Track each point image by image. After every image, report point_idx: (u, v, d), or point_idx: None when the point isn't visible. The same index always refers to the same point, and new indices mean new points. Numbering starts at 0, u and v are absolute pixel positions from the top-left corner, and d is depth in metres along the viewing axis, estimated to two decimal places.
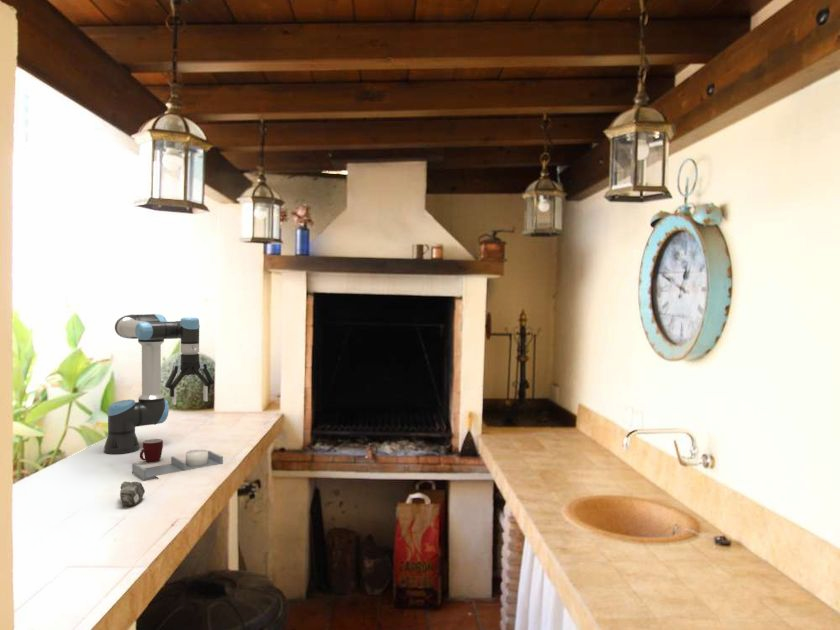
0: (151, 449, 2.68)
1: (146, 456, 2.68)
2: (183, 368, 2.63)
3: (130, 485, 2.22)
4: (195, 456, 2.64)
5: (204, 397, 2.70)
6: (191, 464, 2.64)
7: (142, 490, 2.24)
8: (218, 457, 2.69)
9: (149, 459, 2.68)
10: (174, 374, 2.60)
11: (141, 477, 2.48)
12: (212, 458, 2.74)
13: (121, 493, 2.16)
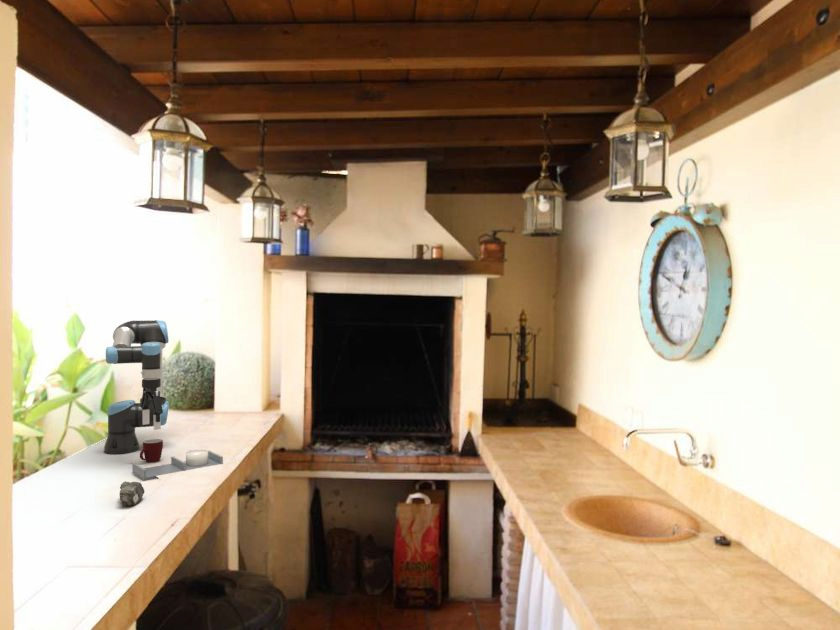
0: (151, 449, 2.68)
1: (146, 456, 2.68)
2: (146, 391, 2.71)
3: (130, 485, 2.22)
4: (195, 456, 2.64)
5: None
6: (191, 464, 2.64)
7: (142, 490, 2.24)
8: (218, 457, 2.69)
9: (149, 459, 2.68)
10: (142, 395, 2.74)
11: (141, 477, 2.48)
12: (212, 458, 2.74)
13: (120, 493, 2.16)
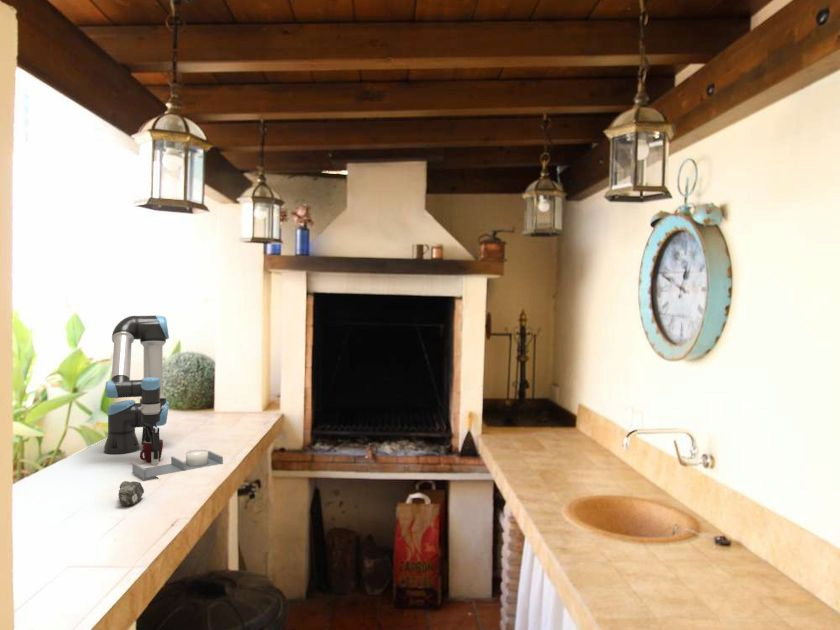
0: (151, 449, 2.68)
1: (146, 456, 2.68)
2: None
3: (129, 485, 2.22)
4: (195, 456, 2.64)
5: None
6: (191, 464, 2.64)
7: (141, 490, 2.24)
8: (218, 457, 2.69)
9: (149, 459, 2.68)
10: None
11: (141, 477, 2.48)
12: (212, 458, 2.74)
13: (119, 493, 2.16)
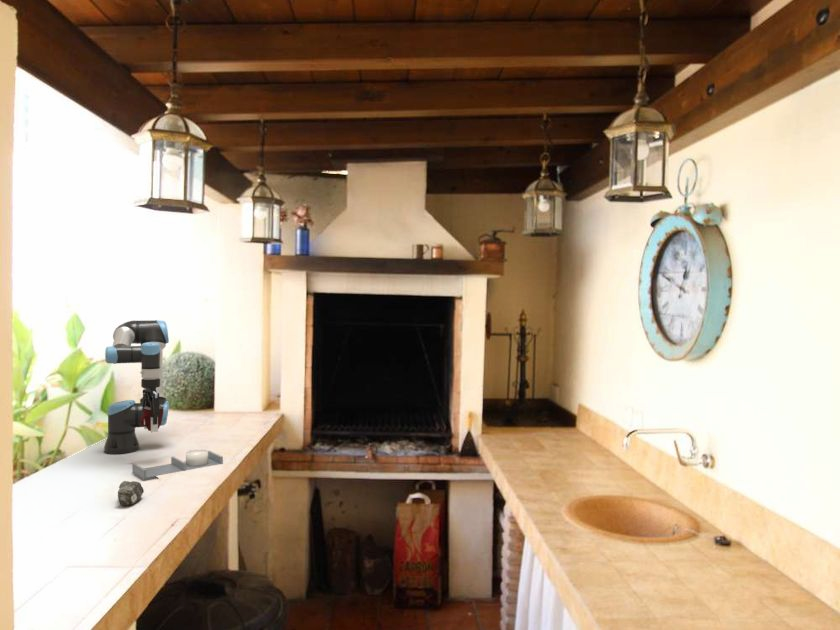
0: None
1: (146, 422, 2.68)
2: (145, 391, 2.71)
3: (129, 485, 2.23)
4: (195, 456, 2.64)
5: None
6: (191, 464, 2.64)
7: (141, 490, 2.24)
8: (218, 457, 2.69)
9: (149, 425, 2.68)
10: (143, 398, 2.73)
11: (141, 477, 2.48)
12: (212, 458, 2.74)
13: (119, 493, 2.16)
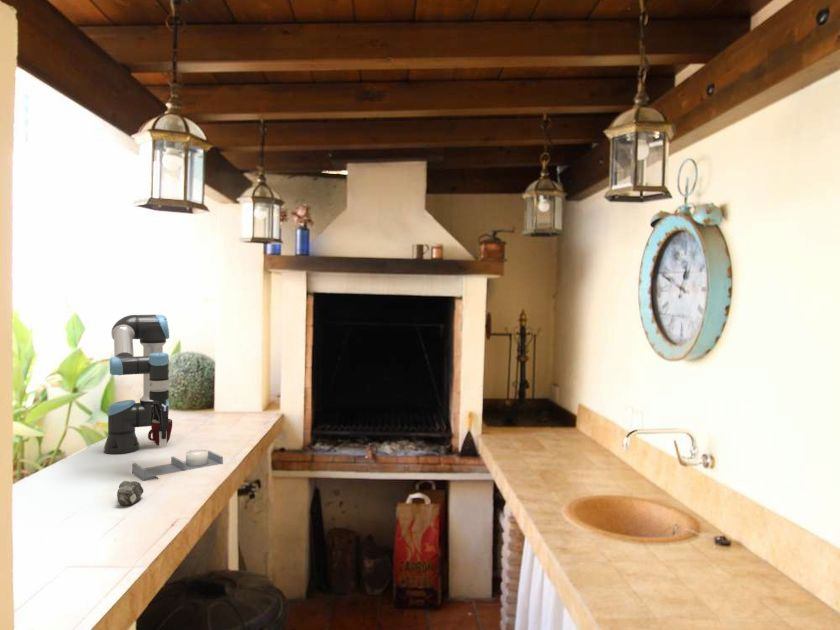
0: None
1: (154, 436, 2.55)
2: (153, 404, 2.58)
3: (128, 485, 2.23)
4: (195, 456, 2.64)
5: None
6: (191, 464, 2.64)
7: (140, 490, 2.24)
8: (218, 457, 2.69)
9: (157, 440, 2.55)
10: (150, 411, 2.60)
11: (141, 477, 2.48)
12: (212, 458, 2.74)
13: (118, 492, 2.16)
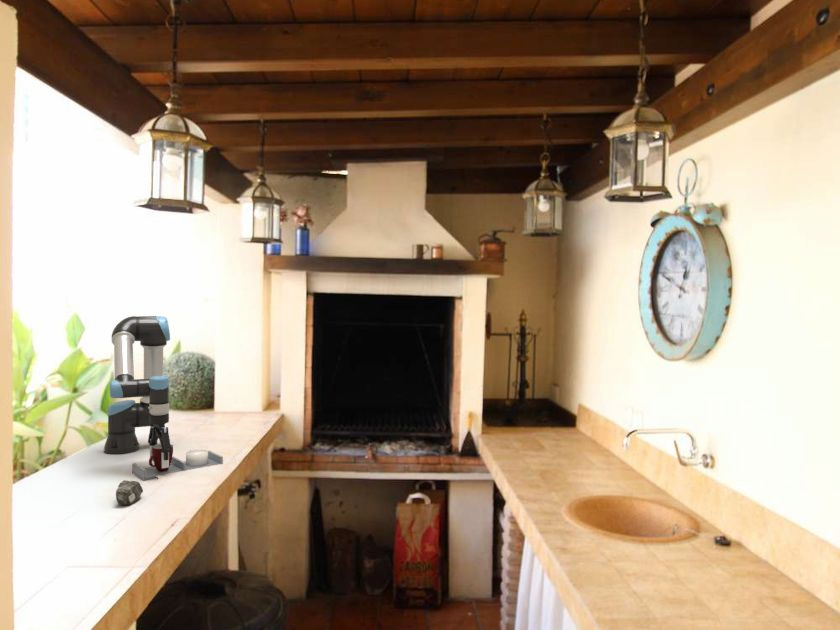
0: (161, 455, 2.53)
1: (155, 462, 2.54)
2: (153, 427, 2.58)
3: (128, 484, 2.23)
4: (195, 456, 2.64)
5: None
6: (191, 464, 2.64)
7: (140, 489, 2.25)
8: (218, 457, 2.69)
9: (159, 466, 2.54)
10: (150, 431, 2.61)
11: (141, 477, 2.48)
12: (212, 458, 2.74)
13: (117, 492, 2.17)
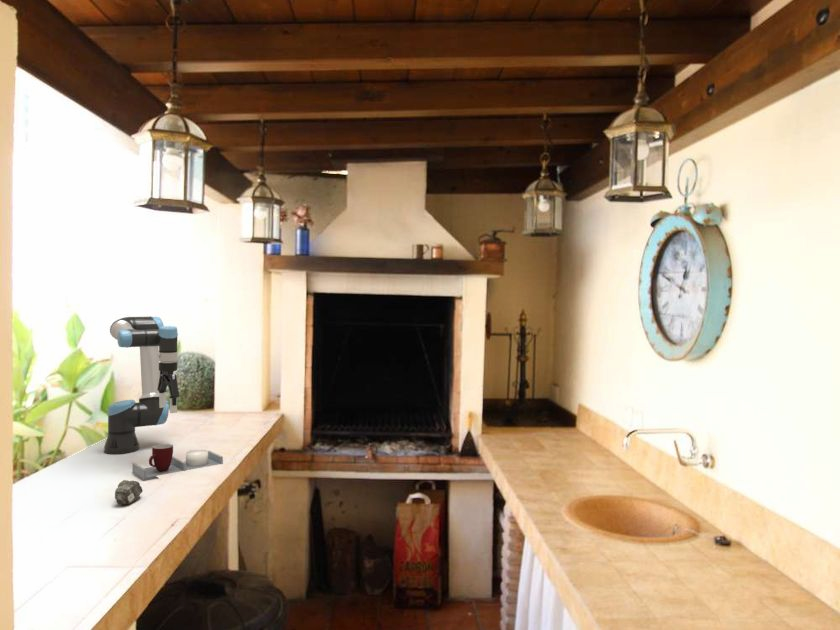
0: (161, 455, 2.53)
1: (156, 462, 2.54)
2: (162, 375, 2.71)
3: (127, 484, 2.23)
4: (195, 456, 2.64)
5: None
6: (191, 464, 2.64)
7: (139, 489, 2.25)
8: (218, 457, 2.69)
9: (159, 465, 2.54)
10: (159, 379, 2.74)
11: (141, 477, 2.48)
12: (212, 458, 2.74)
13: (116, 492, 2.17)
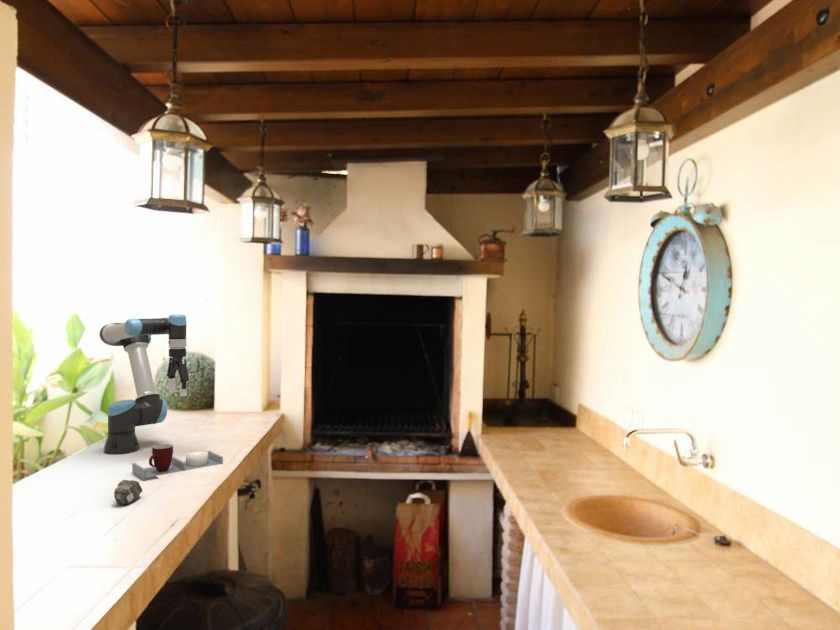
0: (161, 455, 2.53)
1: (155, 462, 2.54)
2: None
3: (127, 484, 2.24)
4: (195, 456, 2.64)
5: None
6: (191, 464, 2.64)
7: (139, 489, 2.25)
8: (218, 457, 2.69)
9: (159, 465, 2.54)
10: (169, 365, 2.88)
11: (141, 477, 2.48)
12: (212, 458, 2.74)
13: (115, 491, 2.17)
